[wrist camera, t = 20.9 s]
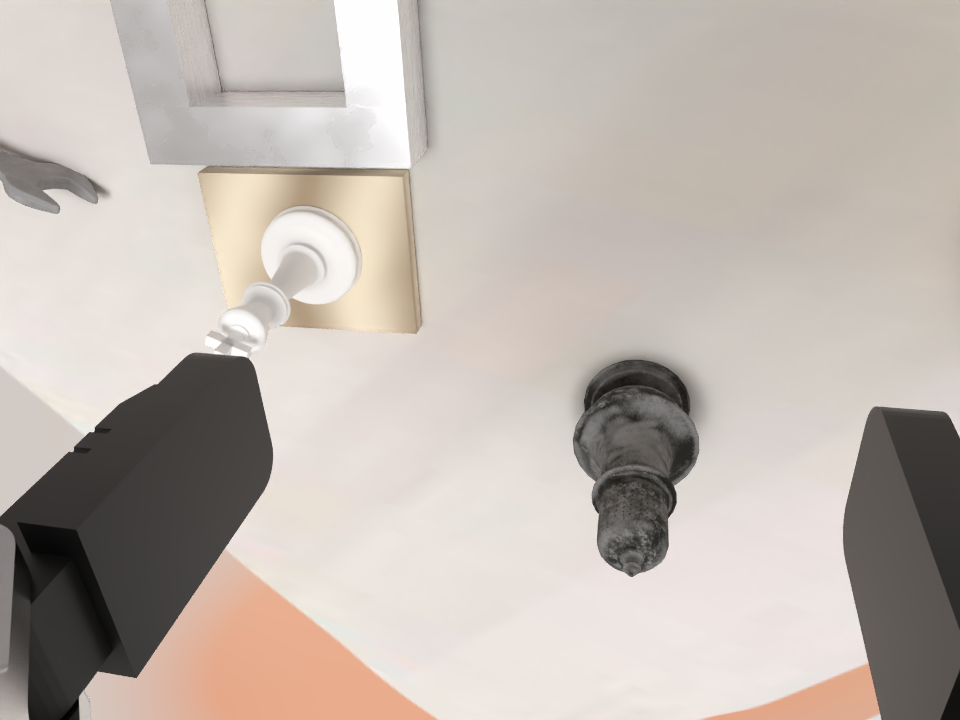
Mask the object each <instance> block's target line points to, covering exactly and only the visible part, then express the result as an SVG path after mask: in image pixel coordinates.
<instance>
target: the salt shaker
mask: <svg viewBox="0 0 960 720" xmlns="http://www.w3.org/2000/svg"><path fill="white" fill-rule="evenodd" d="M584 405H585V413H584V414H583V415H582V416H581V418H580V420H579V422H578V423H577V425H576V428H575V432H574V437H573V446H574V453H575V456H576V458H577V460H578V462H579V465H580V466H581V467H582V469H583V470H584V471H585V472H586V473H587V475H588V476H589V477H591V478H592V479H593V480H595V481H596V483H595V484H594V487H593V491H592V503H593V505H594V507H595V510H596V511H597V513H598V514H599V520H598V532H597V545H598V550H599V552H600V554H601V557H602V558H603V559H604V560H605V561H606V562H607V563H608V564H609V565H611V566H612V567H613V568H615V569H617V570H620V571H622V572H625V573H626V574H627V575H629V576H630V577H633V576H635V575H636V574H638V573H641V572H646V571H648V570H651V569H652V568H654V567H655V566H657V565H658V564H660V563H661V562H662V560H663V559H664V558H665V556H666V553H667V550H668V546H669V542H668V518H669V517H670V515H671V514H672V513H673V511H674V509H675V506H676V503H677V501H676V491H675V488H674V485H676V484H677V483H678V482H680V481H681V480H682V479H683V478H685V477H686V476H687V475H688V474H689V472H690V471H691V469H692V468H693V467H694V465H695V463H696V460H697V457H698V454H699V436H698V433H697V431H696V428H695V425H694V423H693V422H692V421H691V419H690V418H689V417H688V414H689V411H690V404H689V396H688V393H687V390H686V387H685V385H684V384H683V383H682V381H681V380H680V379H679V377H678V376H677V375H675V374H674V373H673V372H671V371H670V370H669V369H668V368H665V367H663V366H661V365H659V364H656V363H653V362H648V361H643V360H630V361H623V362H620V363H616V364H613V365H611V366H609V367H607V368H605V369H604V370H602V371H601V372H600V373H599V374H597V375H596V376H595V377H594V378H593V379H592V381H591V383H590V385H589V386H588V388H587V390H586V395H585V400H584Z"/></svg>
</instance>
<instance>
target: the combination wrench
mask: <svg viewBox="0 0 960 720" xmlns="http://www.w3.org/2000/svg"><path fill="white" fill-rule="evenodd" d="M0 180H1V181H2V182H3V186H4V189H5V192H6V193H7V195H8V196H9V197H10V198H12V199H14V200H15V201H17V202H19V203H21V204H23V205H25V206H28V207H31V208H35V209H38V210H42V211H46V212H50V213H55V214H58V213H59V211H60V206H59V205H58V204H57V202H55V201H54V200H53V199H52V198H51V197H49V196H48V195H47V194H46V193H45V192H43V191H42V190H46V189H53V188H54V189H67V190H69V191H71V192H72V193H74V194H76V195H77V196H79V197H81V198H83V199H85V200H87V201H89V202H91V203H94V204H97V202H98V196H97V194H96V192H95V190H94V188H93V186H92V184H91V183H90V181H89V180H88V179H87V177H86V176H84V175H82V174H80V173H77V172H75V171H73V170H71V169H68V168H66V167H64V166H62V165H59V164H54V163H39V162H35V161H31V160H28V159H24V158H20V157H17V156H14V155H10V154H7V153H5V152H3V151H1V150H0Z"/></svg>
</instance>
